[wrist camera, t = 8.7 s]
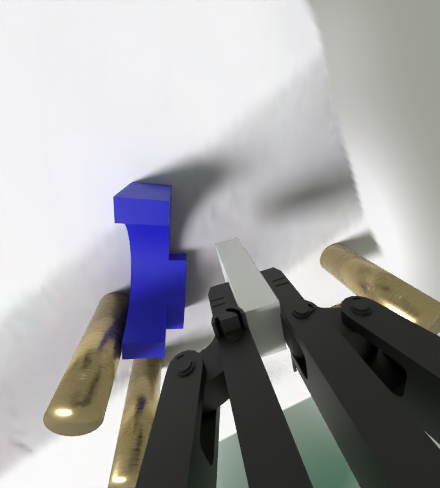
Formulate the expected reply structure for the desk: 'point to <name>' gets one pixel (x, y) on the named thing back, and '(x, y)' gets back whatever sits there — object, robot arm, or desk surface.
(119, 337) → the spacers
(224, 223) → the desk surface
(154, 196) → the blue curved block
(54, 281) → the desk surface
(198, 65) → the desk surface
